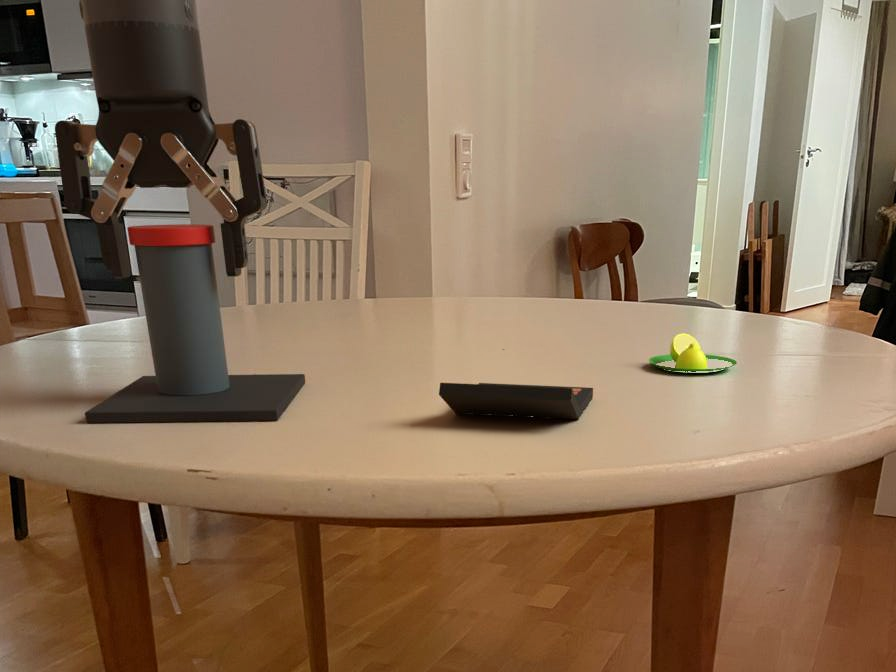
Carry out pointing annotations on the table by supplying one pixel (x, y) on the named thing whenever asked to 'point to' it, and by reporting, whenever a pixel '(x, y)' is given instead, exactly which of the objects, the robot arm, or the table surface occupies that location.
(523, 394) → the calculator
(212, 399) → the mat
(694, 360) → the lemon
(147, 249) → the tumbler
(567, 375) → the table surface
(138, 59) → the robot arm
